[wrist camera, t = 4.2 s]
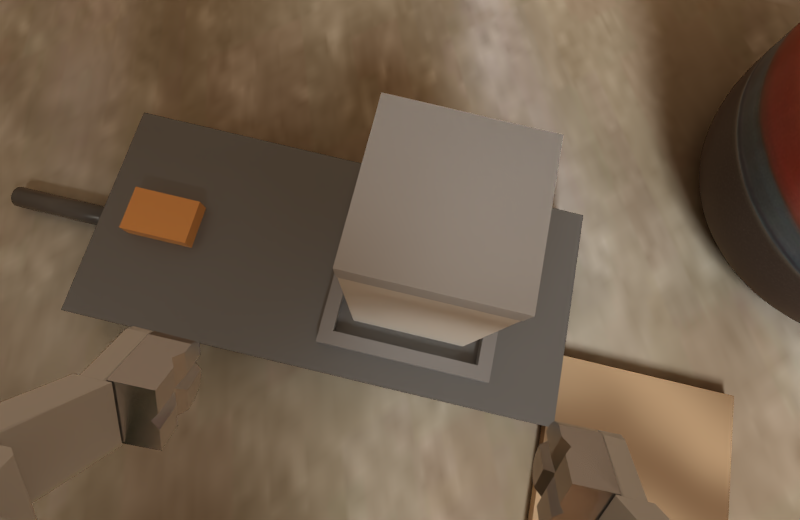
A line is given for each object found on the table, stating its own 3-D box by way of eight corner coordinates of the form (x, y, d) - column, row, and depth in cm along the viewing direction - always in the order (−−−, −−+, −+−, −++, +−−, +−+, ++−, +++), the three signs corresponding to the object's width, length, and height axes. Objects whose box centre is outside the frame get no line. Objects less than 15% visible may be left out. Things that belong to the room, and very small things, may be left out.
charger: (462, 347, 21) (534, 316, 12) (352, 320, 21) (332, 268, 12) (483, 241, 22) (563, 134, 13) (379, 217, 23) (381, 92, 13)
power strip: (531, 422, 23) (560, 430, 20) (-17, 291, 24) (-88, 274, 20) (560, 234, 26) (590, 209, 22) (64, 117, 26) (14, 75, 23)
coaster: (715, 594, 22) (724, 599, 21) (523, 547, 22) (527, 552, 21) (725, 395, 24) (733, 395, 24) (551, 354, 24) (556, 353, 24)
